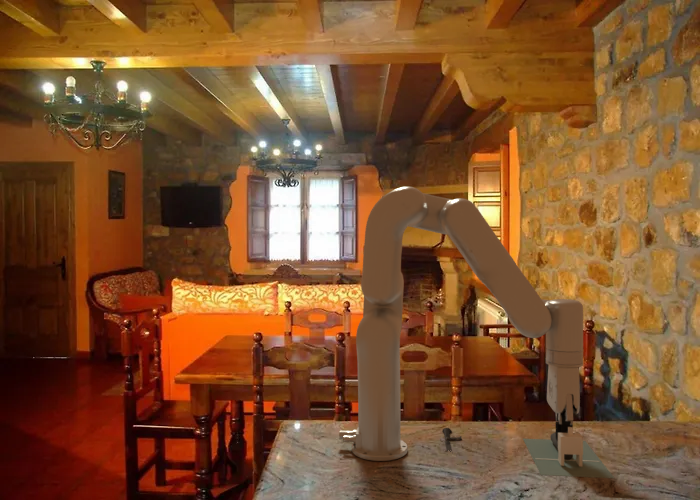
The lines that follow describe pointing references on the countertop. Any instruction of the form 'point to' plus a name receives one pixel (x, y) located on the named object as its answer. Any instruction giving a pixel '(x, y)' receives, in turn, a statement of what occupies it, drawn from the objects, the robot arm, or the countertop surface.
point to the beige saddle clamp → (570, 446)
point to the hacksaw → (449, 438)
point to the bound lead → (553, 439)
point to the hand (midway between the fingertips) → (564, 441)
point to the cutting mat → (565, 461)
